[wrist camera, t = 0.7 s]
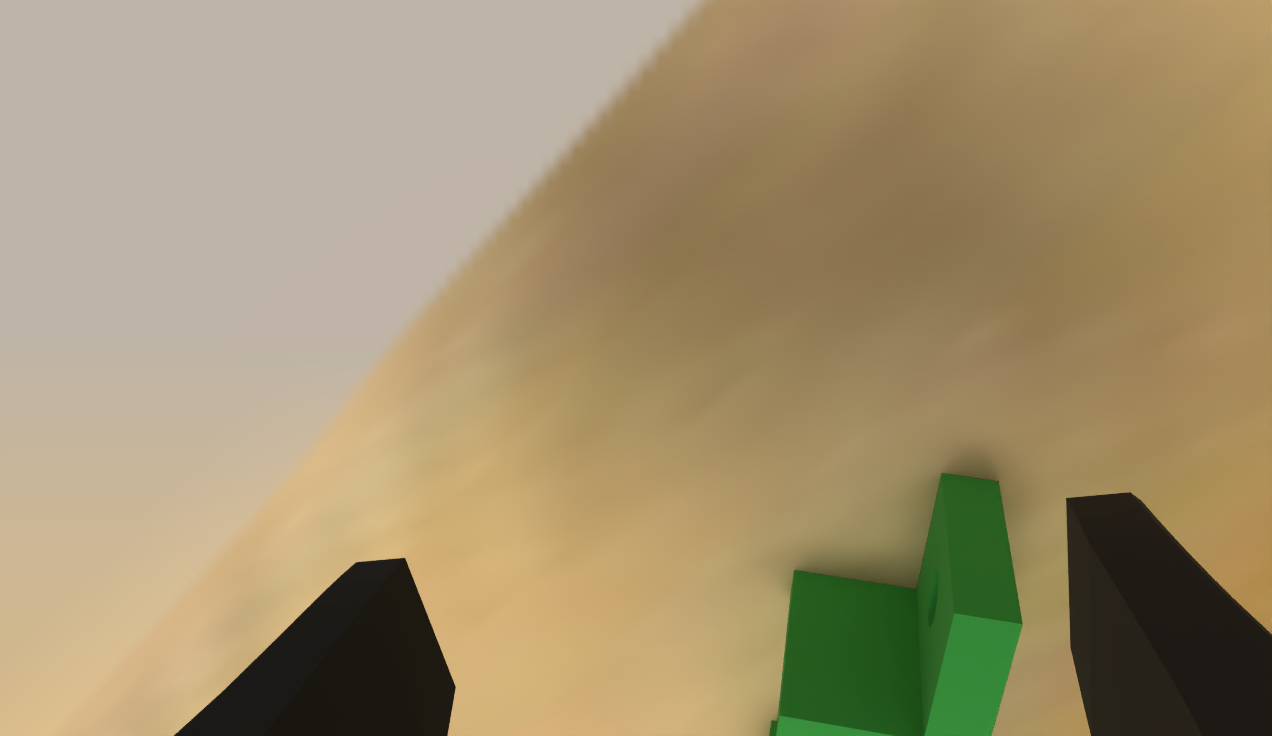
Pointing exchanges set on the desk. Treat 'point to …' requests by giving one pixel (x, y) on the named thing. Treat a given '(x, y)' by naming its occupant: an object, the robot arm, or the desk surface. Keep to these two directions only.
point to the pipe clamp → (909, 634)
